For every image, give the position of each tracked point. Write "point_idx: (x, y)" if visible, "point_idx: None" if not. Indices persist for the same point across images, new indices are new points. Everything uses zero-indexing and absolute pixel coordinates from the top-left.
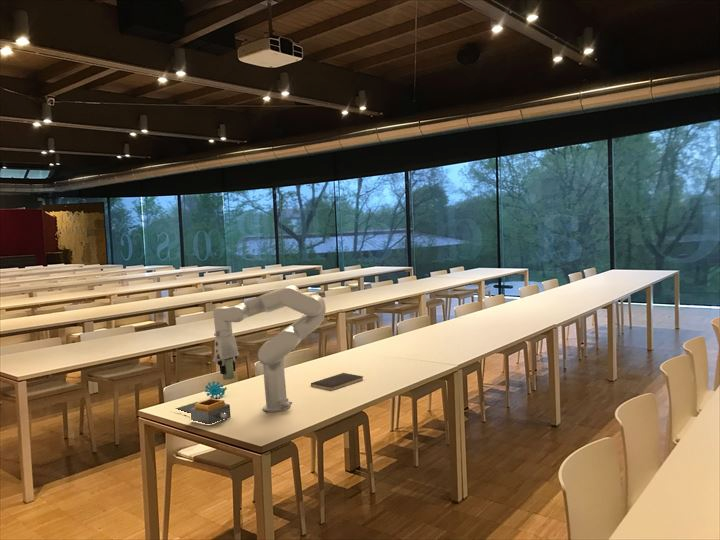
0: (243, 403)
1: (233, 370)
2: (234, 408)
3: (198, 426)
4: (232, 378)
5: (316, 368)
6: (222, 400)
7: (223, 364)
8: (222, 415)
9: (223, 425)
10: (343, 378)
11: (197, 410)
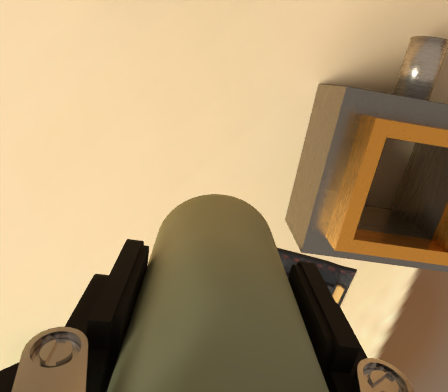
0: (93, 178)
1: (172, 243)
2: (179, 171)
3: None
4: (222, 195)
5: None
6: (373, 134)
7: (372, 382)
8: (444, 54)
9: (440, 34)
10: None
11: None
